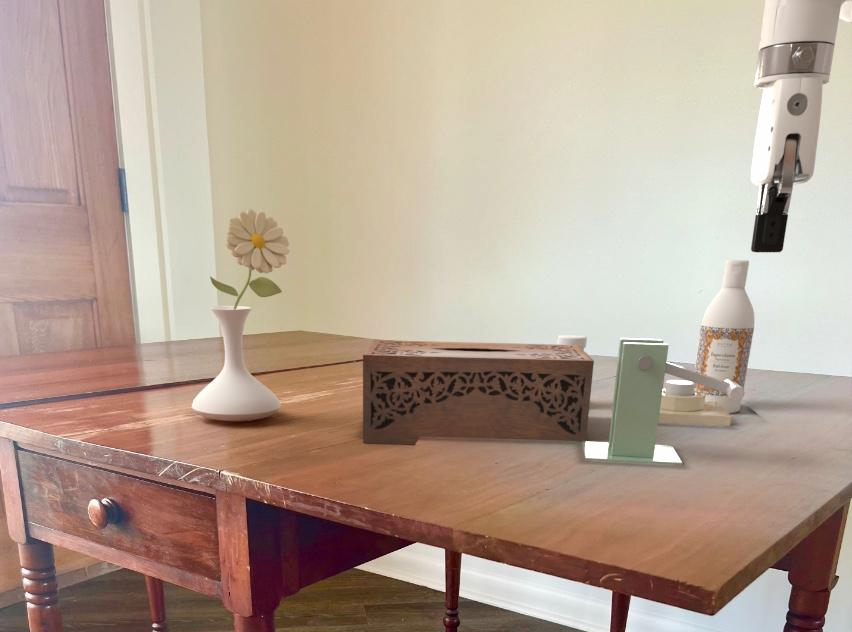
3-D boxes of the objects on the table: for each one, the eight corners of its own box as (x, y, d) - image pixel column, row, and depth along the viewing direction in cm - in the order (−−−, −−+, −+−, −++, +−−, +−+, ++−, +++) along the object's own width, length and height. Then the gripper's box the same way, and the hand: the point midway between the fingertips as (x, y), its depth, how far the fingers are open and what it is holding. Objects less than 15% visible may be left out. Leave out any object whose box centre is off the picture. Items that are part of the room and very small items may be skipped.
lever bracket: (670, 455, 98) (687, 338, 93) (681, 474, 91) (699, 347, 86) (581, 451, 99) (592, 335, 94) (584, 468, 92) (597, 344, 87)
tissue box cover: (363, 443, 101) (362, 355, 97) (374, 418, 114) (374, 340, 111) (584, 449, 100) (593, 360, 96) (570, 424, 113) (577, 344, 109)
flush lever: (729, 398, 93) (739, 377, 92) (738, 407, 89) (749, 384, 88) (622, 362, 93) (631, 340, 92) (626, 369, 89) (635, 346, 88)
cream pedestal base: (714, 418, 119) (719, 388, 117) (729, 433, 109) (734, 401, 108) (625, 414, 120) (628, 384, 119) (632, 428, 111) (635, 397, 109)
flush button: (690, 394, 115) (692, 380, 114) (694, 398, 111) (697, 385, 111) (662, 392, 115) (664, 379, 115) (666, 397, 112) (668, 383, 111)
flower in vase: (192, 429, 106) (174, 206, 97) (193, 411, 117) (177, 208, 107) (298, 426, 109) (291, 209, 99) (290, 409, 119) (283, 210, 109)
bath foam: (687, 412, 122) (709, 260, 114) (690, 404, 128) (711, 258, 120) (739, 416, 120) (765, 261, 112) (740, 407, 126) (765, 260, 118)
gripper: (851, 55, 86) (818, 253, 93) (811, 79, 100) (784, 250, 107) (772, 57, 87) (745, 253, 94) (743, 81, 101) (721, 251, 108)
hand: (766, 251), depth 101 cm, fingers closed
